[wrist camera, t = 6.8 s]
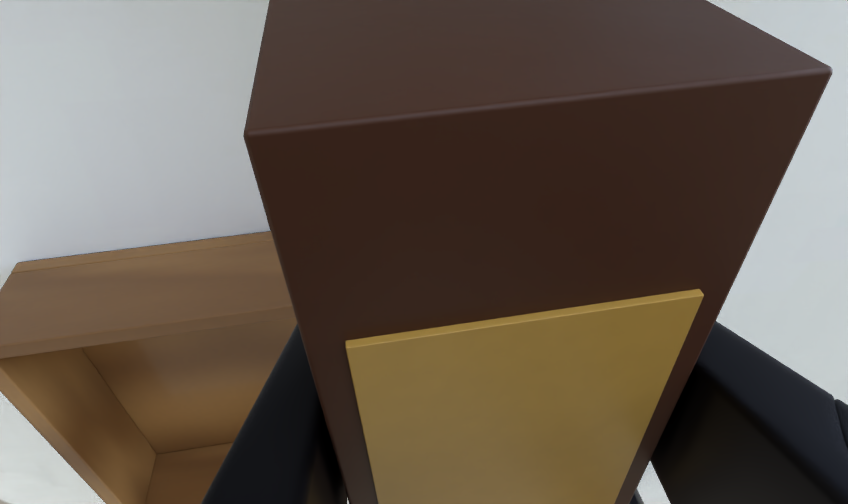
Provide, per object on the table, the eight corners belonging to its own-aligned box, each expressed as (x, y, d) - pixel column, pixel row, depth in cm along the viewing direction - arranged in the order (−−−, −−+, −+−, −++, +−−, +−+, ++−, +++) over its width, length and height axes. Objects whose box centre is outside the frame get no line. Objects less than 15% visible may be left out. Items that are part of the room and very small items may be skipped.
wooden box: (458, 402, 30) (475, 473, 26) (151, 450, 28) (132, 532, 25) (460, 206, 21) (485, 279, 18) (16, 261, 19) (-39, 351, 16)
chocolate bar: (550, 410, 13) (608, 560, 10) (363, 441, 12) (377, 605, 10) (642, -37, 6) (847, 72, 4) (268, -4, 6) (239, 139, 4)
